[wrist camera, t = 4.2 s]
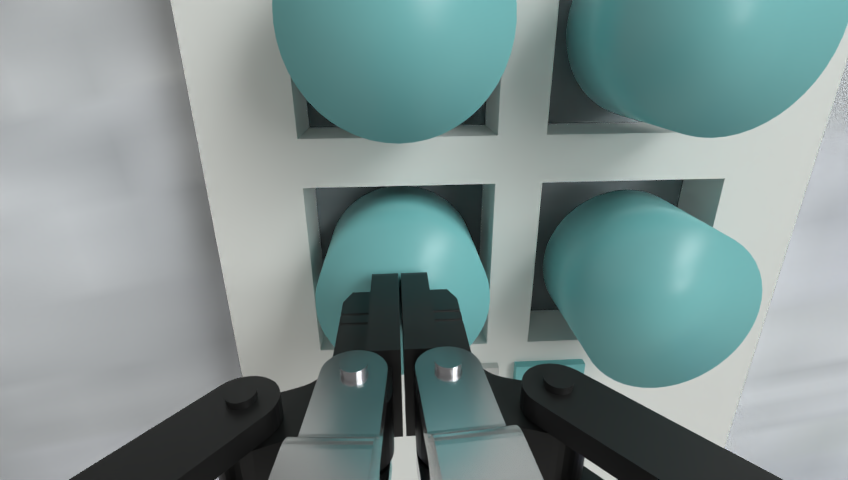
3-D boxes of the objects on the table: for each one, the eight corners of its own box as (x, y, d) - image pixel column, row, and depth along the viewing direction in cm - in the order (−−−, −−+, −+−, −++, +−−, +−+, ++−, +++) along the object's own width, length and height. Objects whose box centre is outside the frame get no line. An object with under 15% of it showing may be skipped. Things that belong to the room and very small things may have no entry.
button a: (761, -77, 12) (893, -122, 9) (717, 115, 14) (812, 136, 11) (577, -79, 12) (644, -125, 9) (557, 118, 14) (607, 139, 10)
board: (882, -276, 12) (989, -347, 10) (685, 443, 21) (718, 488, 19) (149, -300, 11) (90, -384, 9) (278, 465, 20) (265, 514, 18)
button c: (701, 187, 15) (785, 226, 11) (671, 319, 16) (736, 383, 13) (550, 191, 14) (593, 232, 11) (536, 324, 16) (571, 391, 13)
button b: (490, -79, 12) (526, -126, 8) (481, 119, 13) (509, 141, 10) (293, -81, 11) (254, -129, 8) (312, 122, 13) (287, 145, 10)
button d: (473, 183, 15) (494, 219, 12) (469, 311, 17) (486, 370, 14) (324, 187, 15) (306, 224, 12) (336, 316, 17) (323, 378, 14)
